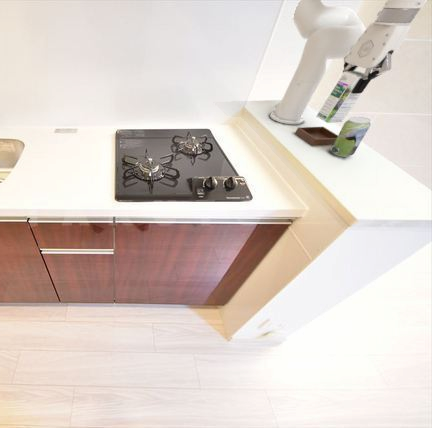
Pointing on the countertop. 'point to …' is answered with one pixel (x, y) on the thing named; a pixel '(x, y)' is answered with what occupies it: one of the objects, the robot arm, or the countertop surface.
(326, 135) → the tray
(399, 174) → the countertop surface
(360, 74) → the syrup box
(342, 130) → the beverage can
